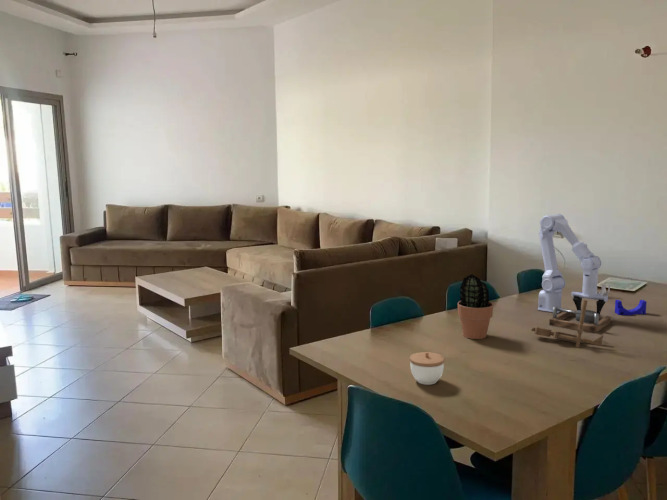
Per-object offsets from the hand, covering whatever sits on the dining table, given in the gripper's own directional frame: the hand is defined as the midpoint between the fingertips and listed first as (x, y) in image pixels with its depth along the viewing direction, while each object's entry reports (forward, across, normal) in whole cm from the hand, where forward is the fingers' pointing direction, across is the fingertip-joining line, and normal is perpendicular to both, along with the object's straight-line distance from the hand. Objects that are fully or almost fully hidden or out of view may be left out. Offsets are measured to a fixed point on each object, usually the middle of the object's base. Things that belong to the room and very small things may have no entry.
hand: (588, 314), depth 239 cm
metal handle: (+2, 0, -16) cm, 16 cm away
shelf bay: (+2, 0, -9) cm, 9 cm away
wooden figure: (+2, +4, -36) cm, 37 cm away
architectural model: (+2, -2, +40) cm, 40 cm away
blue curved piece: (+2, +12, +19) cm, 23 cm away
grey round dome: (+2, 0, -3) cm, 3 cm away
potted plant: (+2, -26, -52) cm, 58 cm away
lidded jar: (+2, -15, -103) cm, 104 cm away
